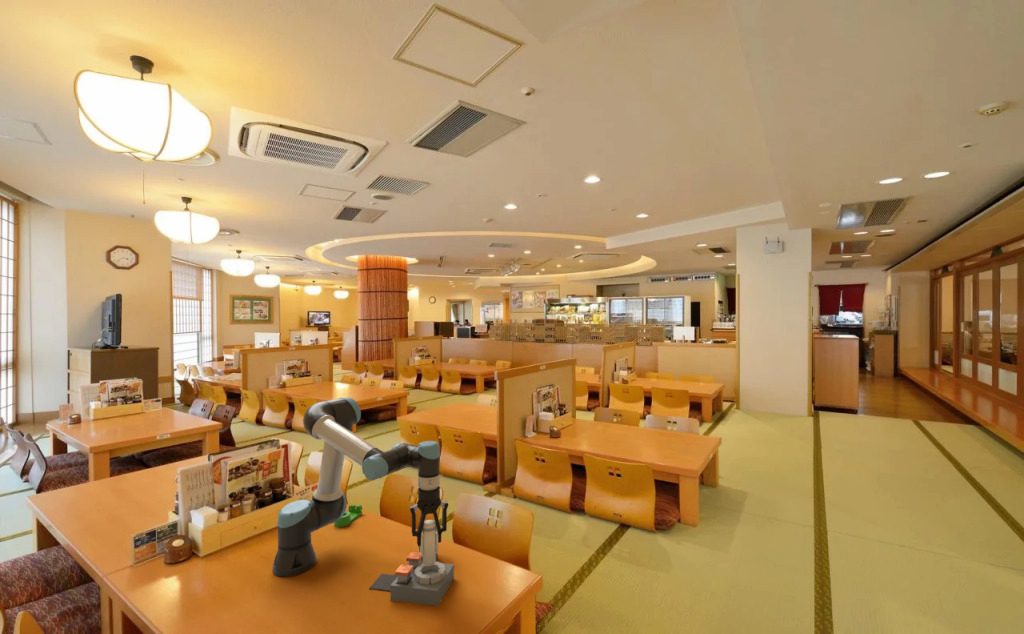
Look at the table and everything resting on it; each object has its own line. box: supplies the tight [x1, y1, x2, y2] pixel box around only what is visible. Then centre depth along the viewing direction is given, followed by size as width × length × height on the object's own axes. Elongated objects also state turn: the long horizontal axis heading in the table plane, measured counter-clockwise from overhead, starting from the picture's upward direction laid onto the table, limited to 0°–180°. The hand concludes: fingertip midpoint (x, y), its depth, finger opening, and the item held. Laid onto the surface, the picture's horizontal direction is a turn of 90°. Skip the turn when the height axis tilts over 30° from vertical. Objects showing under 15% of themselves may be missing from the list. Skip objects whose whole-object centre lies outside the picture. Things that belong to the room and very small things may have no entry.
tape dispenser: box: [333, 503, 363, 528], centre depth 209 cm, size 15×7×5 cm, turn 167°
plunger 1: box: [394, 563, 413, 585], centre depth 150 cm, size 5×5×7 cm
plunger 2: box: [406, 550, 423, 570], centre depth 159 cm, size 5×5×7 cm
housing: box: [390, 561, 455, 607], centre depth 153 cm, size 17×16×7 cm
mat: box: [368, 573, 398, 592], centre depth 157 cm, size 9×9×1 cm
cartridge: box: [422, 519, 437, 566], centre depth 153 cm, size 5×5×14 cm
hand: (429, 552), depth 153 cm, fingers closed on cartridge, 4 cm apart
